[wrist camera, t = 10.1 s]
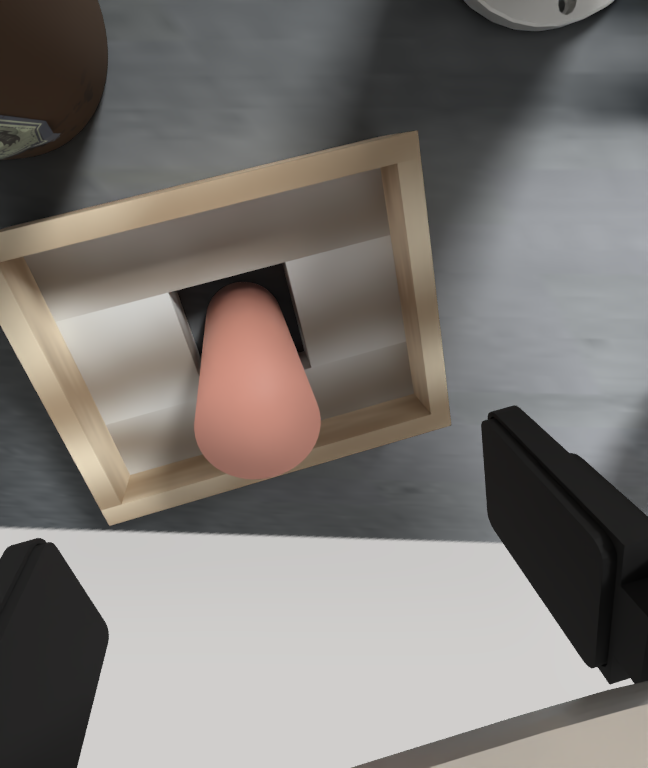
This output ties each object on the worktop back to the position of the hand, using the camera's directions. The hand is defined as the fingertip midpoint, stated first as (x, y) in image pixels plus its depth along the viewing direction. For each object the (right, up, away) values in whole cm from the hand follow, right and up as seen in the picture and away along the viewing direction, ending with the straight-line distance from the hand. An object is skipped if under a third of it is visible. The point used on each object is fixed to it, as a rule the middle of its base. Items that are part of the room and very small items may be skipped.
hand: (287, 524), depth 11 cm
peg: (-4, +7, +16) cm, 17 cm away
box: (-4, +7, +16) cm, 17 cm away
